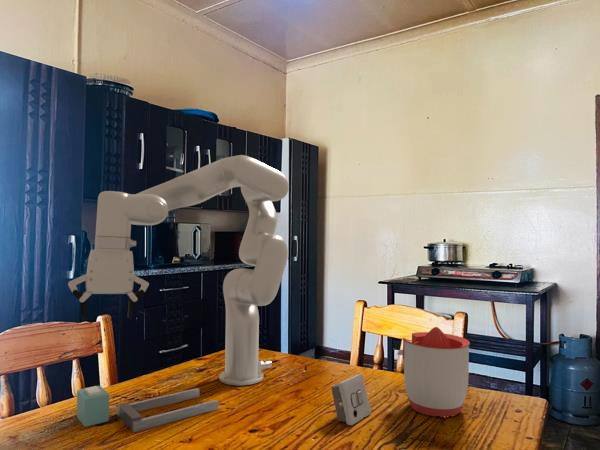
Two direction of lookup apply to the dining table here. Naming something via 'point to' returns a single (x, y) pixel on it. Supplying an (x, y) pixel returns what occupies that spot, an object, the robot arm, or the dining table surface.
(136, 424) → the rail channel
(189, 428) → the dining table surface
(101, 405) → the block
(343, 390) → the electrical switch
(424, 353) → the citrus juicer
